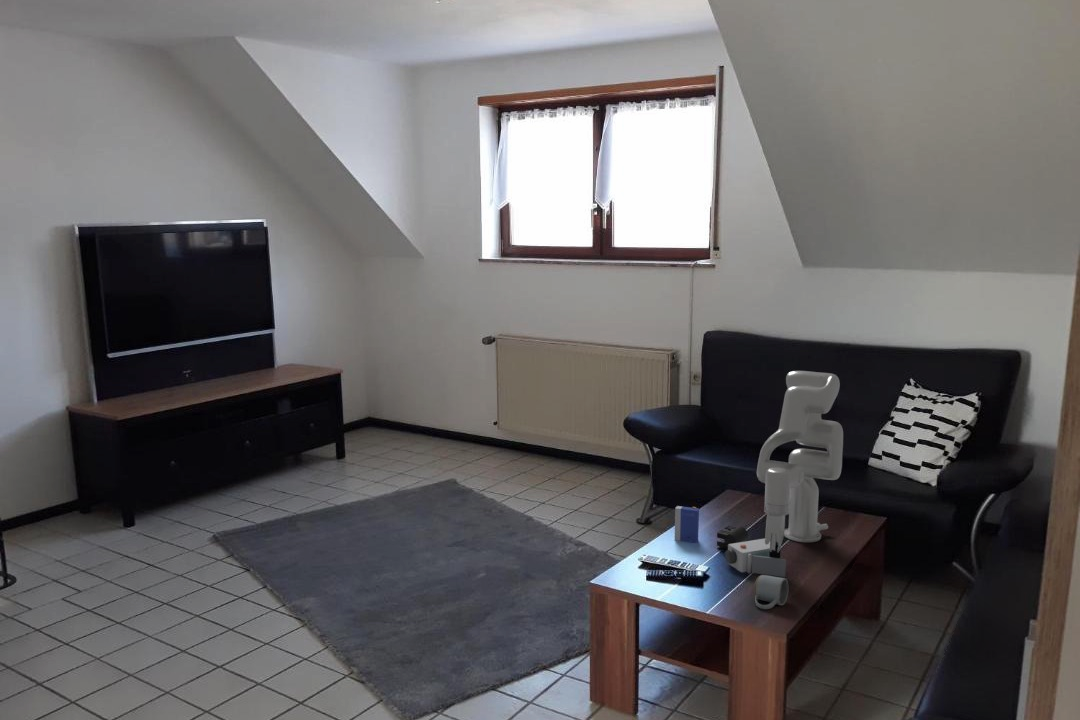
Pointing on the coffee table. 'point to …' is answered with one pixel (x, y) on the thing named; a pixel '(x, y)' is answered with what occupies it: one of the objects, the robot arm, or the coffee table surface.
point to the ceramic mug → (770, 590)
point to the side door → (766, 565)
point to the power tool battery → (731, 537)
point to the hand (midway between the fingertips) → (774, 563)
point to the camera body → (745, 553)
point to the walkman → (686, 524)
